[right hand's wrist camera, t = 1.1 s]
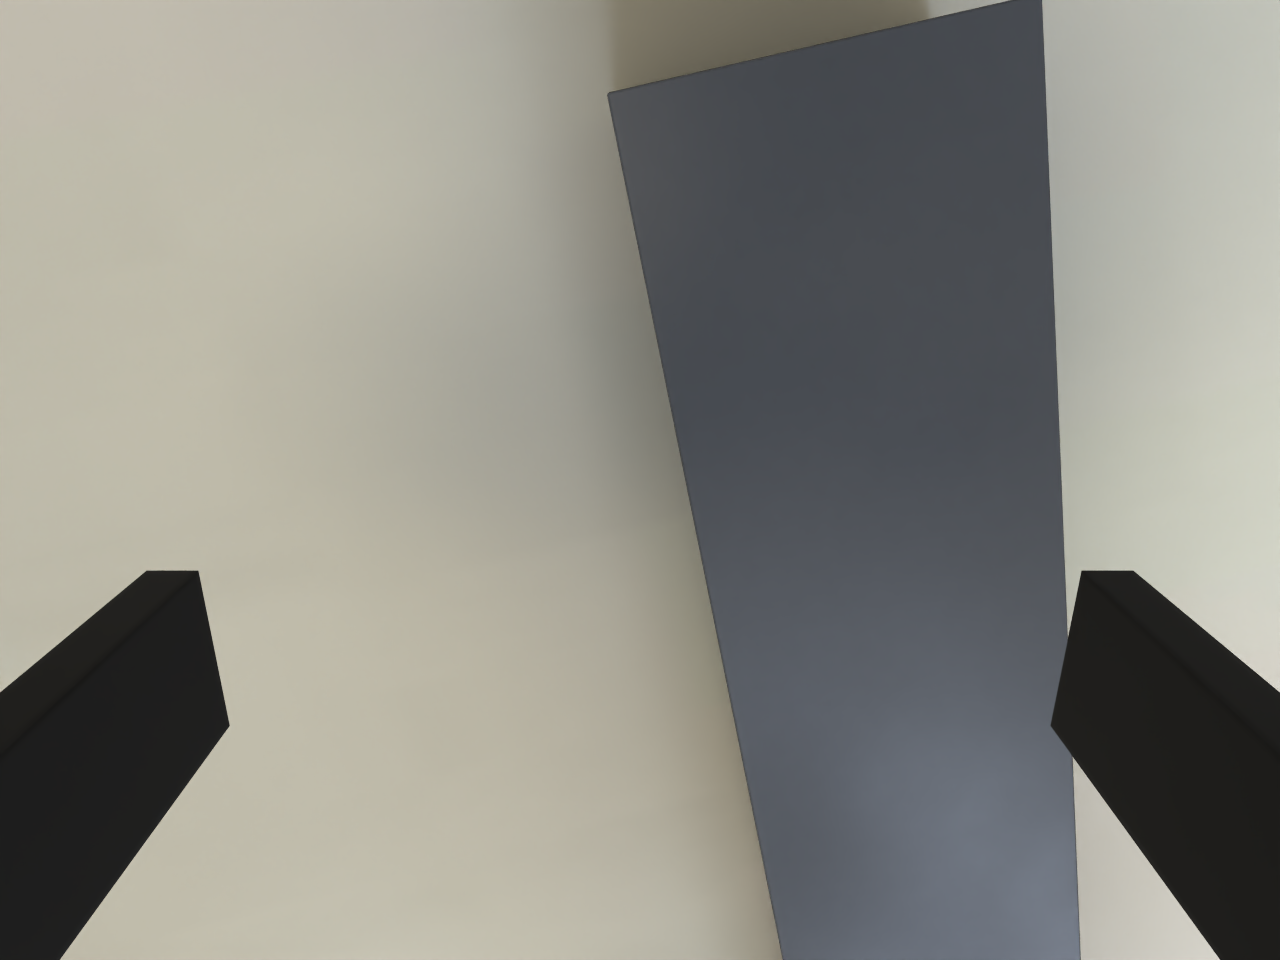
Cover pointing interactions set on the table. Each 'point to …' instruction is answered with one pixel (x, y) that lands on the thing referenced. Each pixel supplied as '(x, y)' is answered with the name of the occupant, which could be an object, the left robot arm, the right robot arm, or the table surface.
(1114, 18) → the table surface
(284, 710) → the table surface
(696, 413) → the wide beam
